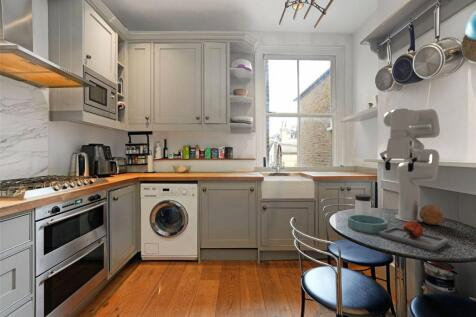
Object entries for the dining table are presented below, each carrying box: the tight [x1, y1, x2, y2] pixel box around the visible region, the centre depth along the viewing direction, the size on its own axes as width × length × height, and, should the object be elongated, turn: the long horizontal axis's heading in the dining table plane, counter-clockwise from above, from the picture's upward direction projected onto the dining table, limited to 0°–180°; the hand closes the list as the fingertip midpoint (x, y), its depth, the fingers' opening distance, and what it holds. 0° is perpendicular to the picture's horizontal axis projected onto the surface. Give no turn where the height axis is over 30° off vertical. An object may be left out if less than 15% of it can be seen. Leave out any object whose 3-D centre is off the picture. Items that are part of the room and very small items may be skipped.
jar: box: [354, 193, 372, 216], centre depth 143 cm, size 9×8×12 cm
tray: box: [378, 226, 449, 253], centre depth 104 cm, size 14×20×2 cm
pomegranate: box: [403, 221, 424, 238], centre depth 104 cm, size 7×7×10 cm
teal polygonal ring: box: [347, 214, 388, 234], centre depth 122 cm, size 17×17×4 cm
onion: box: [419, 204, 444, 225], centre depth 126 cm, size 10×10×10 cm
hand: (398, 170), depth 117 cm, fingers open, 9 cm apart
